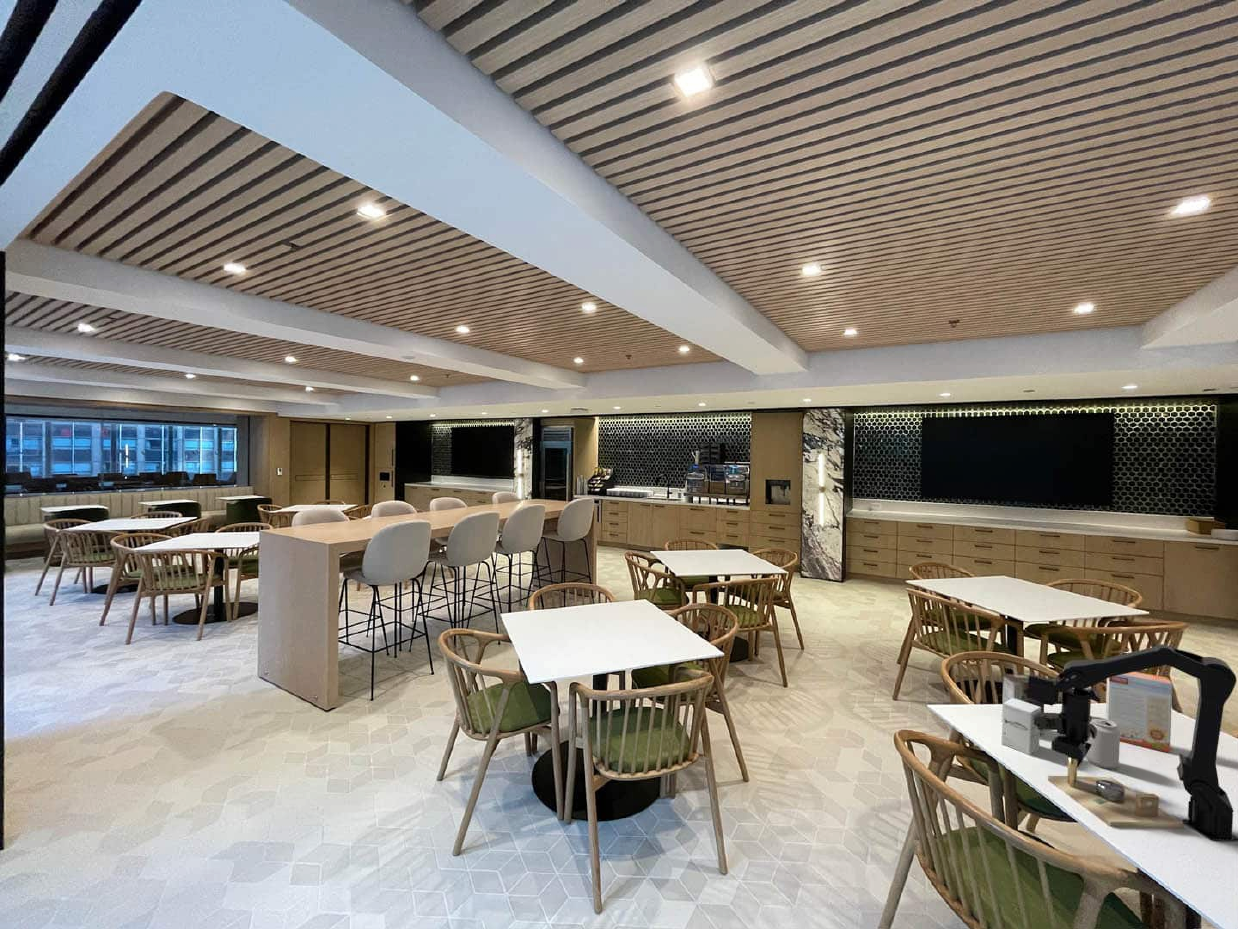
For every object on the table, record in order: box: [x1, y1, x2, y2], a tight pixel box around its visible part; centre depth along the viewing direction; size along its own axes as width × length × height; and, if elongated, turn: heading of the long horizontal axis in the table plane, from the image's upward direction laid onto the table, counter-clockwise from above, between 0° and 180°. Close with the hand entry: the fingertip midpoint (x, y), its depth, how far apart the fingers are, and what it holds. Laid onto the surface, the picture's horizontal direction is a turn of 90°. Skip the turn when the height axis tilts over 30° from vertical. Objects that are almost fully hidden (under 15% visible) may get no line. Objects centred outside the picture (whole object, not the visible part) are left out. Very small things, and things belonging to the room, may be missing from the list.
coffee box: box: [1001, 673, 1045, 735], centre depth 172 cm, size 9×6×16 cm
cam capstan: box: [1067, 756, 1125, 803], centre depth 137 cm, size 11×5×7 cm, turn 53°
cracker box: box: [1105, 671, 1173, 754], centre depth 166 cm, size 14×6×21 cm, turn 53°
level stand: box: [1047, 775, 1183, 829], centre depth 135 cm, size 18×17×6 cm
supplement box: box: [1000, 698, 1041, 756], centre depth 161 cm, size 7×7×13 cm
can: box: [1084, 715, 1121, 770], centre depth 153 cm, size 8×8×12 cm
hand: (1073, 769), depth 142 cm, fingers closed
